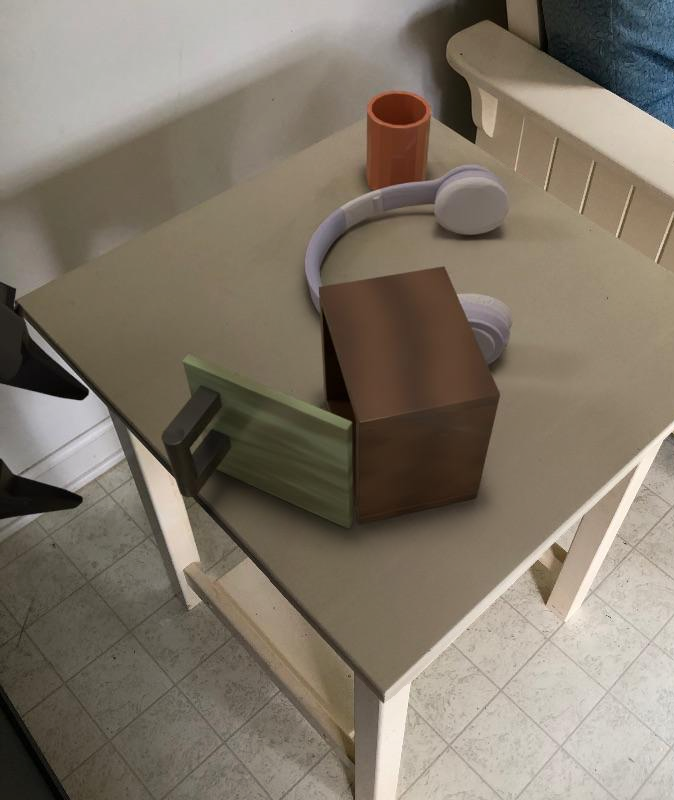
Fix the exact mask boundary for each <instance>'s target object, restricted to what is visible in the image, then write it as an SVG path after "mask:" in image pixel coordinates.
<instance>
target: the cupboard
mask: <svg viewBox="0 0 674 800" xmlns="http://www.w3.org/2000/svg"><path fill="white" fill-rule="evenodd" d="M457 294H458V293H457V291H456V289H455V287H454V284H453V283H452V280H451V278H450V276H449V274H448V271H447V269H446V267H445V266H438V267H431V268H425V269H420V270H419V269H418V270H414V271H413V270H412V271H408V272H402V273H395V274H389V275H384V276H377V277H371V278H365V279H359V280H353V281H347V282H341V283H335V284H329V285H322V287H319V302H320V313H319V318H320V319H319V320H320V337H321V338H320V340H321V356H322V357H321V358H322V377H323V392H324V393H323V394H324V395H323V396H324V401H325V402H324V403H325V405H326V409H327V412H330V413H332V414H335V415H337V416H339V417H342V418H344V419H347V420H349V421H351V422H352V452H353V508H354V512H355V515H356V518H357V522H358V524H360V525H361V524H365V523H370V522H374V521H379V520H383V519H389V518H392V517H397V516H402V515H406V514H410V513H415V512H419V511H424V510H428V509H433V508H438V507H443V506H447V505H450V504H455V503H459V502H460V503H461V502H464V501H468V500H473V499H477V498H478V495H479V492H480V491H479V490H480V487H481V486H480V485H481V481H482V478H483V473H484V469H485V464H486V460H487V455H488V452H489V451H488V450H489V447H490V442H491V438H492V433H493V429H494V423H495V419H496V415H497V412H498V406H499V403H500V398H501V393H500V391H499V388H498V385H497V383H496V381H495V378H494V376H493V374H492V372H491V370H490V367H489V364H488V365H487V363H486V360H485V358H484V356H483V354H482V351H481V349H480V347H479V344H478V342H477V340H476V337H475V335H474V333H473V331H472V328H471V326H470V324H469V321H468V319H467V317H466V315H465V312H464V310H463V308H462V305H461V303H460V301H459V299H458V296H457Z"/></svg>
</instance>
